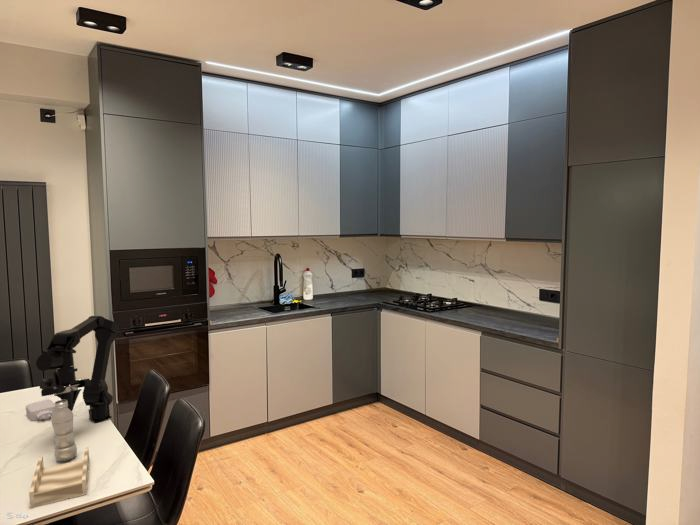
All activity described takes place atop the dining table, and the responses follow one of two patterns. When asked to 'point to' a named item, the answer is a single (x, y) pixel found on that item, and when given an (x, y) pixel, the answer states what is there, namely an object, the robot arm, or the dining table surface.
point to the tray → (59, 481)
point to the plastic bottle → (63, 432)
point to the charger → (40, 410)
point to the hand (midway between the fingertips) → (70, 411)
